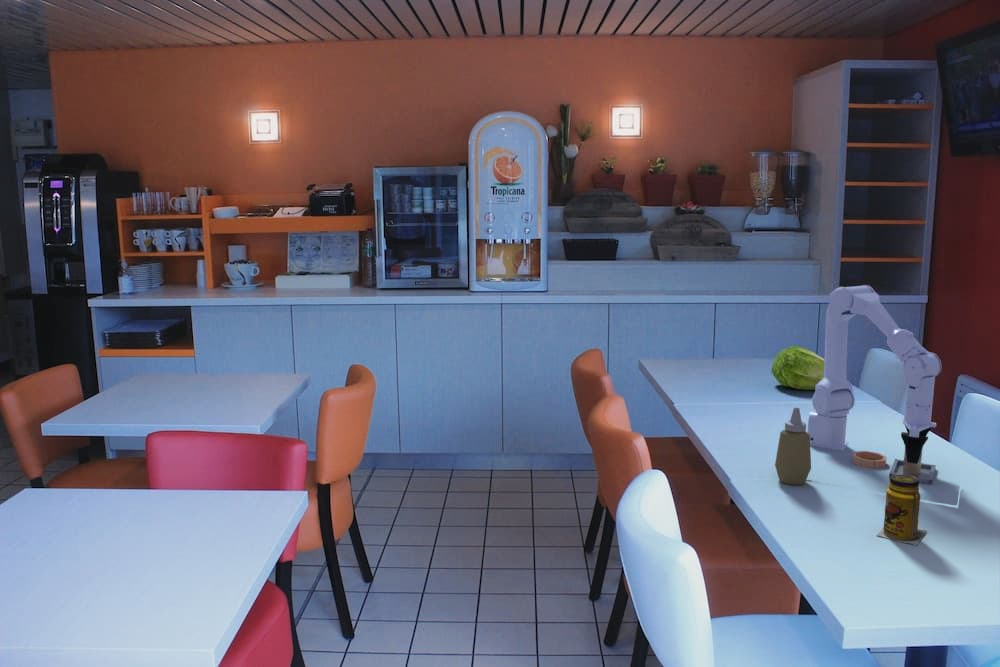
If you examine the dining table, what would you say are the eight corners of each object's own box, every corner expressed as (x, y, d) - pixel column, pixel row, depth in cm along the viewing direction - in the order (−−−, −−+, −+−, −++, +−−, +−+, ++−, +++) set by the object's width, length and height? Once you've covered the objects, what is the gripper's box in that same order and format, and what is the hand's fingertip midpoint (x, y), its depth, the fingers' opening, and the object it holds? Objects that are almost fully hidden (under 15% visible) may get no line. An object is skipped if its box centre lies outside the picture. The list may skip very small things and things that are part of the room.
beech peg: (902, 473, 191) (905, 441, 190) (904, 469, 194) (907, 437, 193) (919, 476, 190) (921, 444, 188) (920, 471, 193) (923, 440, 191)
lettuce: (828, 395, 286) (839, 412, 271) (764, 371, 286) (771, 387, 272) (847, 359, 281) (859, 375, 266) (782, 335, 282) (790, 349, 267)
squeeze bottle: (793, 489, 183) (797, 414, 180) (766, 478, 190) (770, 406, 187) (817, 483, 187) (822, 409, 184) (790, 473, 194) (795, 401, 191)
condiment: (876, 536, 159) (881, 479, 156) (888, 522, 165) (892, 467, 163) (916, 546, 154) (921, 487, 152) (926, 532, 160) (932, 475, 158)
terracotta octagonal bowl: (850, 466, 199) (851, 457, 198) (855, 457, 205) (855, 449, 204) (883, 471, 195) (884, 462, 194) (887, 462, 201) (887, 454, 201)
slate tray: (888, 479, 189) (889, 473, 189) (894, 464, 199) (894, 459, 199) (931, 486, 185) (932, 480, 184) (935, 471, 195) (935, 465, 194)
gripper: (935, 413, 181) (930, 470, 183) (939, 399, 193) (934, 452, 195) (901, 408, 184) (896, 464, 187) (907, 395, 197) (902, 447, 199)
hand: (913, 458), depth 191 cm, fingers open, 7 cm apart
